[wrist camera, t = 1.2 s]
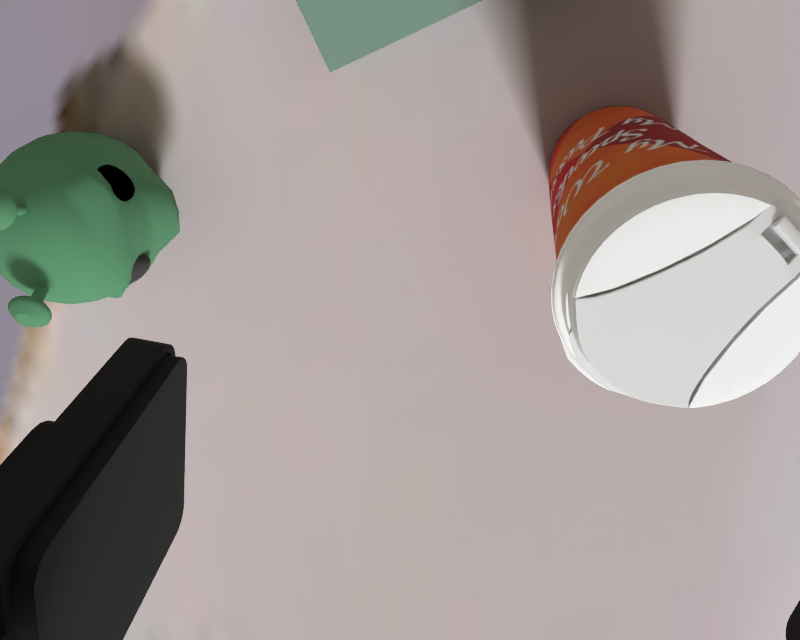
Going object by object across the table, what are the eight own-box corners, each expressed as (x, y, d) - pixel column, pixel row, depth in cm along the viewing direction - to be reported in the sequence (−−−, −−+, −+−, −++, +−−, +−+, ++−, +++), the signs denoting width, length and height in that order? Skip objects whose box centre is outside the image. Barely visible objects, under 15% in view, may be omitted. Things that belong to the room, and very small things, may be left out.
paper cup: (624, 39, 30) (729, 110, 18) (738, 168, 32) (902, 311, 20) (486, 171, 33) (495, 310, 21) (598, 282, 35) (665, 468, 23)
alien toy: (218, 254, 37) (137, 356, 28) (69, 255, 37) (-56, 354, 28) (194, 109, 33) (93, 172, 25) (32, 114, 34) (-123, 176, 25)
